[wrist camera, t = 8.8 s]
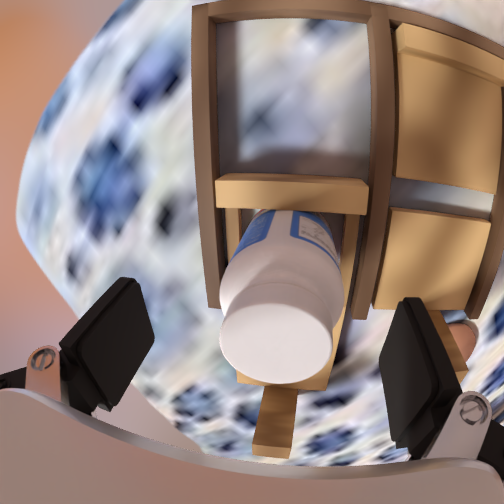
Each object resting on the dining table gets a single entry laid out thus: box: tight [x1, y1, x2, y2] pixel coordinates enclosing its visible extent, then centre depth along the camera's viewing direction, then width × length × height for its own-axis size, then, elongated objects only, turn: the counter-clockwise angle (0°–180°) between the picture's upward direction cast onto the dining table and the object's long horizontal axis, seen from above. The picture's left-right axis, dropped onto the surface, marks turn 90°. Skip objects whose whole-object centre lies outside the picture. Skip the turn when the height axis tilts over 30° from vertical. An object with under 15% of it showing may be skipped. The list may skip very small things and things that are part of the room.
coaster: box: [447, 323, 475, 362], centre depth 19 cm, size 7×7×1 cm
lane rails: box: [191, 0, 504, 320], centre depth 14 cm, size 21×20×2 cm
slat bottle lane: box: [215, 173, 369, 459], centre depth 17 cm, size 8×20×7 cm, turn 2°
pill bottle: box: [219, 209, 344, 384], centre depth 14 cm, size 6×5×10 cm
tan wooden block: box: [371, 207, 491, 384], centre depth 14 cm, size 8×9×7 cm
